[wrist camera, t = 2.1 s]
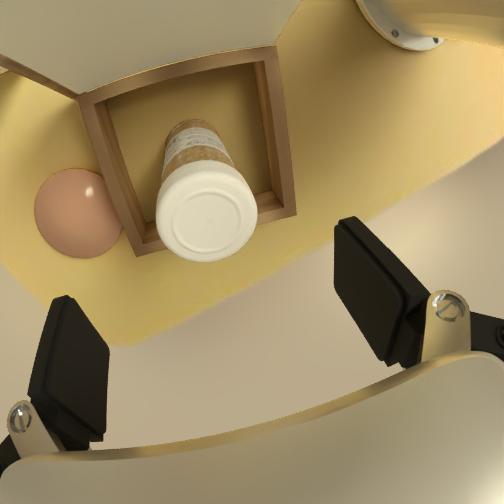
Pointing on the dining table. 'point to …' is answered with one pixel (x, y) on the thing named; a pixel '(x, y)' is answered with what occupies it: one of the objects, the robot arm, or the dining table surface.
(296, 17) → the dining table surface
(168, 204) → the sprinkles bottle
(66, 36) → the frame lid
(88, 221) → the saucer
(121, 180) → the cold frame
